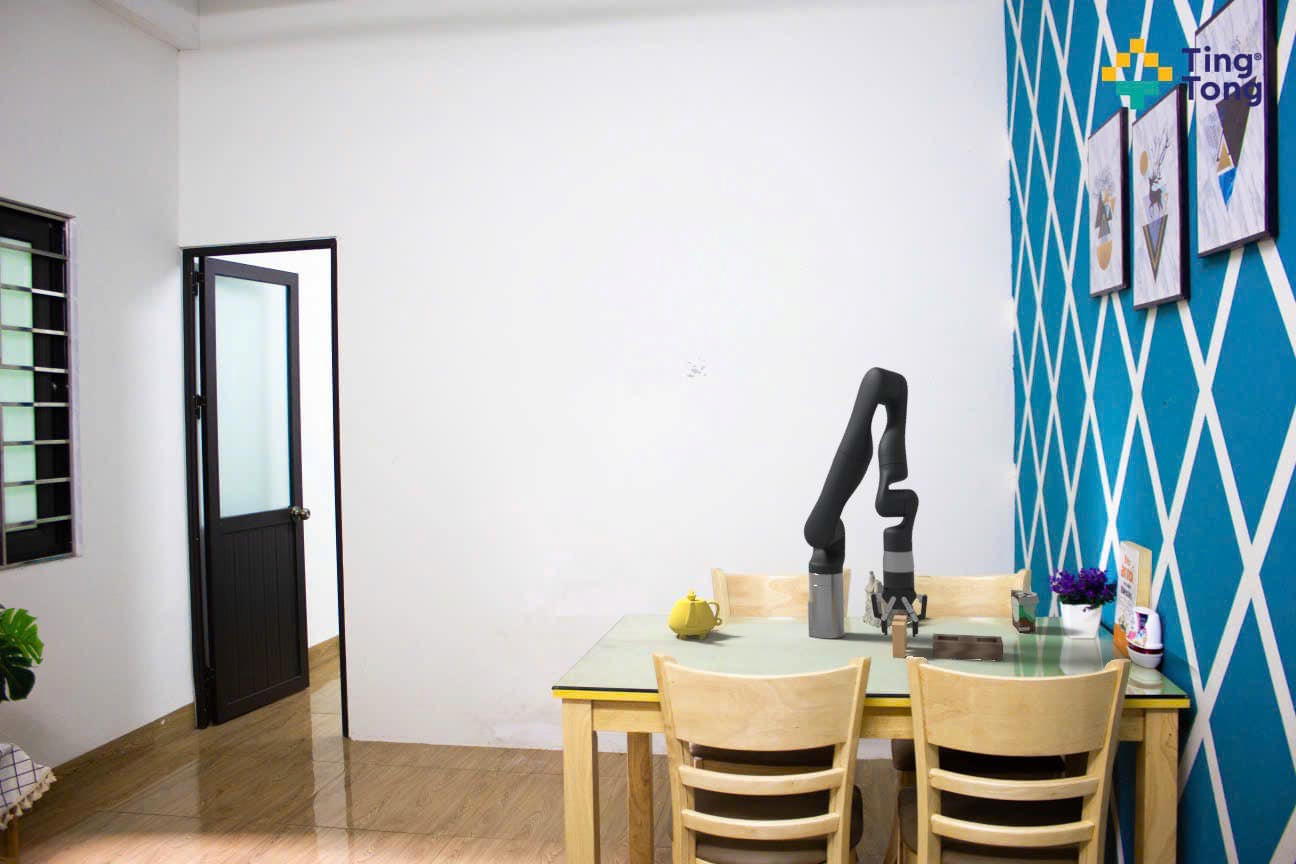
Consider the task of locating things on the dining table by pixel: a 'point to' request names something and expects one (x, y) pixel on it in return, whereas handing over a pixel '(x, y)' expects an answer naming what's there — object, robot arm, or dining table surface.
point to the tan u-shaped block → (899, 635)
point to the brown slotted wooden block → (968, 647)
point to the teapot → (693, 617)
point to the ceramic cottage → (879, 604)
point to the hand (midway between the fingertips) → (900, 635)
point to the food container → (1024, 610)
